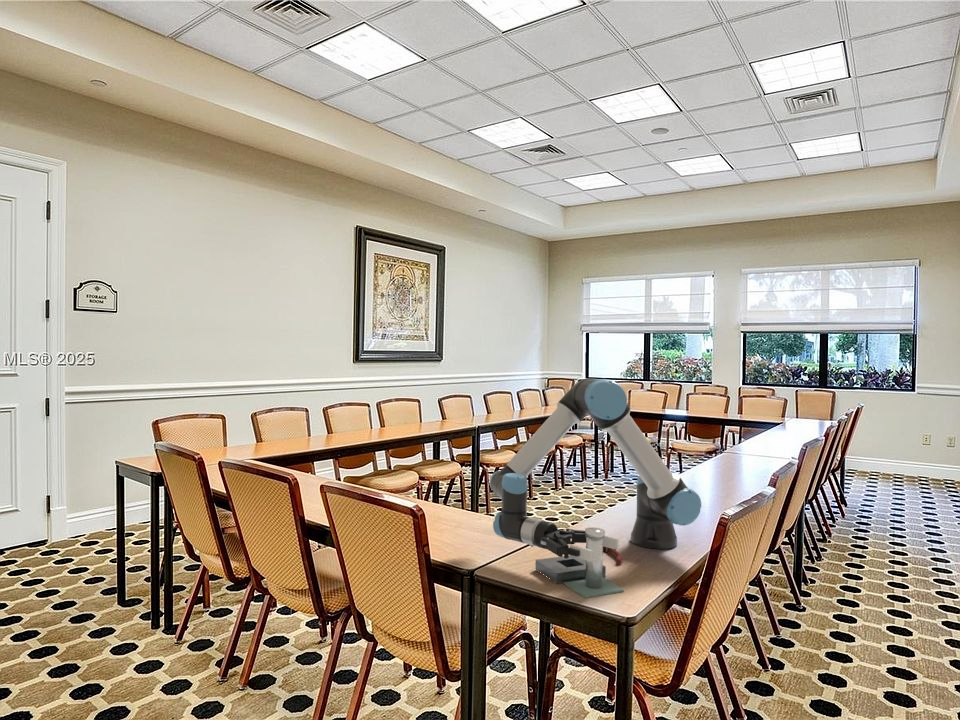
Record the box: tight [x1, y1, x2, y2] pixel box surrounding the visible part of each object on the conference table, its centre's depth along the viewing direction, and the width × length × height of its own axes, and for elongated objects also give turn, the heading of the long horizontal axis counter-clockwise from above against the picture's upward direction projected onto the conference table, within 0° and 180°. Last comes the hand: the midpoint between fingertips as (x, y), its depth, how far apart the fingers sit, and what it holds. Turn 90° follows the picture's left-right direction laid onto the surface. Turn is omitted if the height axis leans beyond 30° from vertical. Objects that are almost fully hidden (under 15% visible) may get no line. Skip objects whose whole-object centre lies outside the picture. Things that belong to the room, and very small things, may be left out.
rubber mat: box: [564, 577, 624, 599], centre depth 166 cm, size 12×10×1 cm
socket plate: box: [534, 555, 607, 584], centre depth 177 cm, size 16×12×3 cm
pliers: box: [603, 546, 623, 566], centre depth 196 cm, size 12×20×3 cm, turn 162°
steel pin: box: [584, 527, 606, 589], centre depth 166 cm, size 5×5×15 cm
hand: (605, 550), depth 164 cm, fingers open, 13 cm apart
